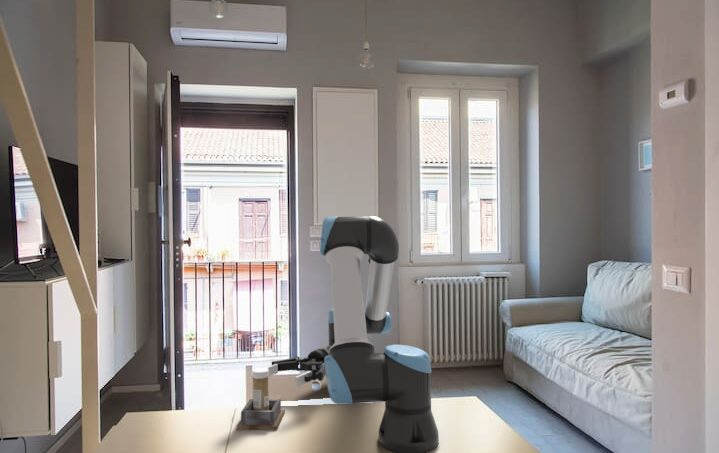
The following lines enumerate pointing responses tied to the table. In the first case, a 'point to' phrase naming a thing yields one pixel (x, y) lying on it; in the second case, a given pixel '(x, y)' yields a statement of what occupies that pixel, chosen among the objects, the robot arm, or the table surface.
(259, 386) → the sprinkles bottle
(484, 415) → the table surface
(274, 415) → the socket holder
